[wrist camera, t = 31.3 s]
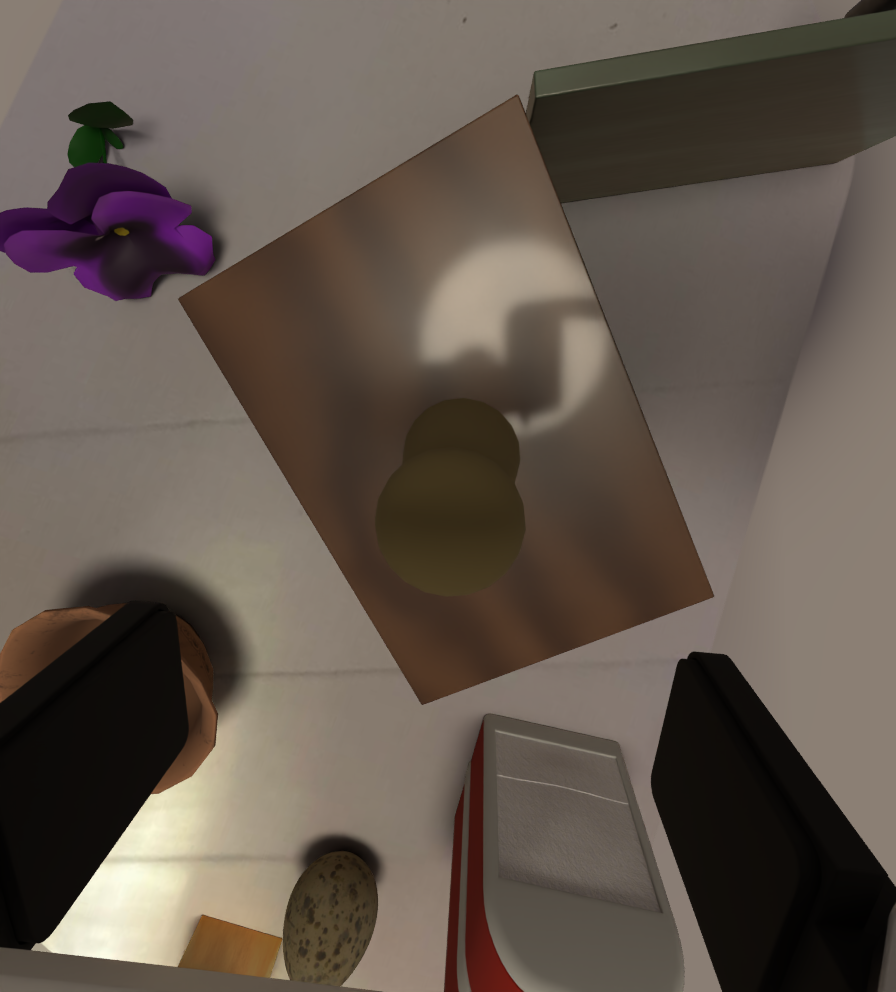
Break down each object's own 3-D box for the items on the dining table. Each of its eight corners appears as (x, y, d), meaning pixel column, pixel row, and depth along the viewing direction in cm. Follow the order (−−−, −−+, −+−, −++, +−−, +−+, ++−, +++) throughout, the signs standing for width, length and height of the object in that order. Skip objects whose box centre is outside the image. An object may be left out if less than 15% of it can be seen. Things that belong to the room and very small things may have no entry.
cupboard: (501, 209, 45) (518, 92, 22) (613, 475, 51) (715, 597, 29) (321, 309, 48) (176, 298, 26) (447, 546, 55) (421, 705, 32)
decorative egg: (335, 816, 68) (295, 947, 54) (402, 858, 69) (380, 997, 55) (290, 861, 71) (241, 996, 57) (355, 900, 72) (323, 1042, 58)
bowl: (298, 656, 60) (260, 725, 50) (180, 751, 66) (123, 831, 56) (150, 519, 56) (74, 563, 46) (37, 633, 62) (-54, 695, 51)
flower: (96, 212, 52) (112, 335, 49) (-84, 70, 37) (-75, 233, 35) (228, 156, 49) (253, 281, 47) (91, -19, 35) (115, 148, 32)
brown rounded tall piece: (504, 383, 26) (517, 425, 15) (532, 496, 28) (561, 603, 17) (387, 416, 27) (325, 477, 16) (422, 524, 28) (386, 641, 18)
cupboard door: (501, 101, 42) (520, -148, 20) (847, 43, 40) (1319, -318, 17) (509, 210, 45) (535, 98, 22) (837, 162, 42) (1238, -19, 20)
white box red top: (623, 742, 61) (722, 1045, 36) (579, 850, 67) (637, 1179, 41) (483, 711, 61) (482, 992, 36) (451, 822, 67) (430, 1134, 41)
